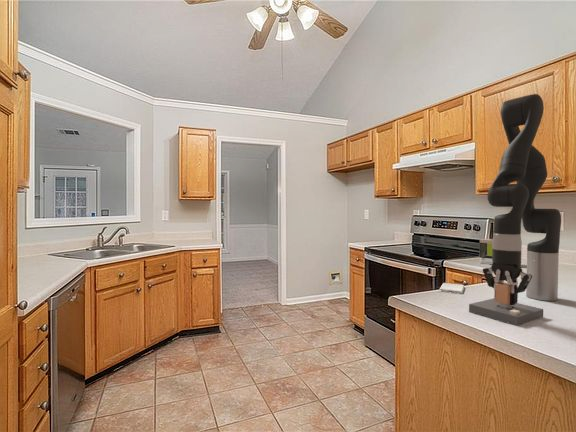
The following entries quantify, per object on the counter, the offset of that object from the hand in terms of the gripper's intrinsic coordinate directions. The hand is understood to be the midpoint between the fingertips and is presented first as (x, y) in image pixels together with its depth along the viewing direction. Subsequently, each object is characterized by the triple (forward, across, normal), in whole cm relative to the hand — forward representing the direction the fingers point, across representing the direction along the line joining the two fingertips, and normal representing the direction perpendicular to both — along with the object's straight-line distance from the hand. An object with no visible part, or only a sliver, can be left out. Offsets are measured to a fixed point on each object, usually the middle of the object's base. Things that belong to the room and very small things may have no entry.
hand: (505, 302), depth 101 cm
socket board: (+4, 0, 0) cm, 4 cm away
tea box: (+4, +54, -96) cm, 110 cm away
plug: (+2, 0, 0) cm, 2 cm away
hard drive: (+4, +28, -15) cm, 32 cm away
